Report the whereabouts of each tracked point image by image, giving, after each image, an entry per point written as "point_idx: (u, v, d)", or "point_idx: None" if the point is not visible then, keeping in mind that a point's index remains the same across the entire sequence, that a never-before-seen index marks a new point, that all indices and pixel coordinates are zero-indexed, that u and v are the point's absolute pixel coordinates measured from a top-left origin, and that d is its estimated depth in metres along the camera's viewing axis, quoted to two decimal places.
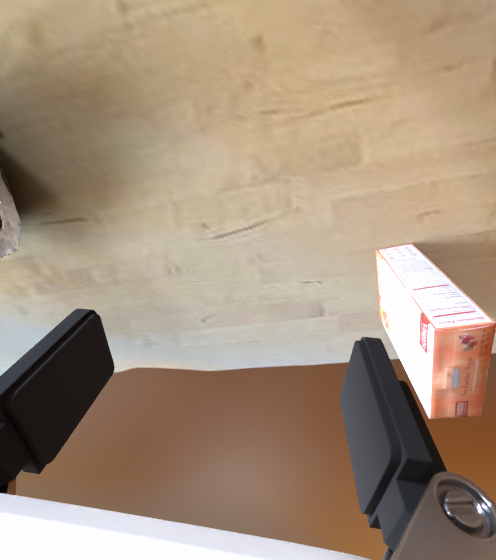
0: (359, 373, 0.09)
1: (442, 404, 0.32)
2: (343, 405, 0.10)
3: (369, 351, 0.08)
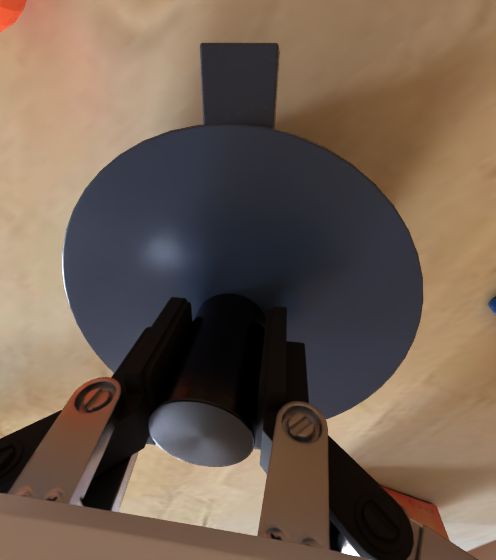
0: None
1: None
2: None
3: (272, 316, 0.10)
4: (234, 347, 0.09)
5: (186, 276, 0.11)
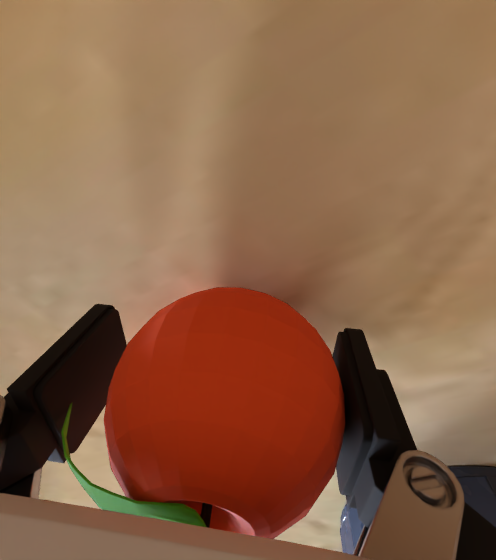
0: (341, 362, 0.09)
1: None
2: None
3: (350, 341, 0.09)
4: None
5: None
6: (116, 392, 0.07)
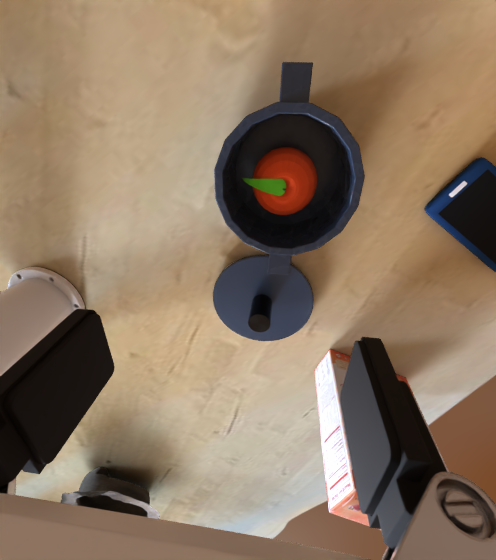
0: (359, 373, 0.09)
1: None
2: (343, 405, 0.10)
3: (369, 351, 0.08)
4: (265, 306, 0.39)
5: (250, 289, 0.41)
6: (263, 163, 0.28)
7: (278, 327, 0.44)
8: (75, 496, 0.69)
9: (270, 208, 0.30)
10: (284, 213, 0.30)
